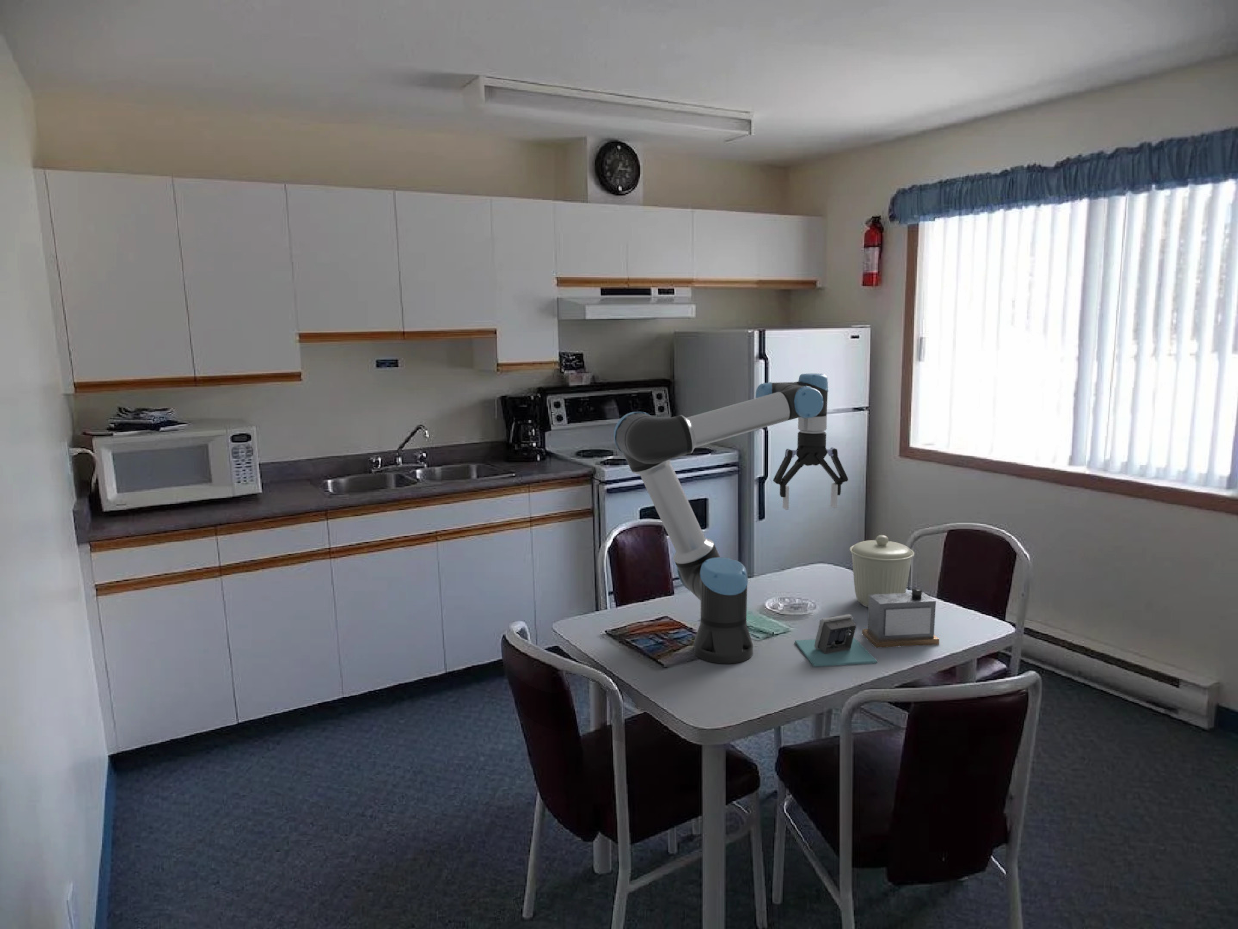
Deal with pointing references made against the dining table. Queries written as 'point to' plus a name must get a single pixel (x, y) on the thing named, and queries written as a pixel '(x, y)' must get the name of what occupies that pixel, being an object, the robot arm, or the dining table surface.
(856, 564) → the canister
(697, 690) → the dining table surface
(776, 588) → the dining table surface
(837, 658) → the service mat
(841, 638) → the electrical switch
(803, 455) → the robot arm
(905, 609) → the junction box
